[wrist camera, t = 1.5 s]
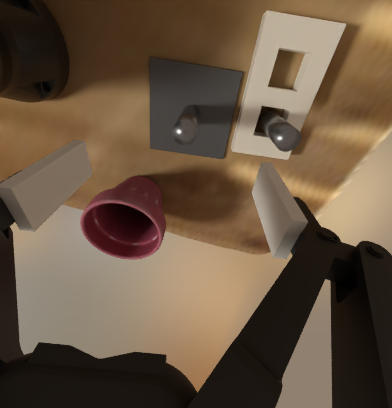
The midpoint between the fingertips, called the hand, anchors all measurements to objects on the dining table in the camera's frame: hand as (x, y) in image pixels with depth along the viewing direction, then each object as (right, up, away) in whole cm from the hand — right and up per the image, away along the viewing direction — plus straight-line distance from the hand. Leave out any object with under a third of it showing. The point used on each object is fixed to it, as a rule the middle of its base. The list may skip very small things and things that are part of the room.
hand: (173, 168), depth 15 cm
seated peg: (+14, +12, +18) cm, 26 cm away
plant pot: (-10, 0, +29) cm, 31 cm away
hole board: (+14, +14, +16) cm, 26 cm away
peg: (+1, +12, +18) cm, 22 cm away
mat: (+1, +13, +19) cm, 23 cm away
